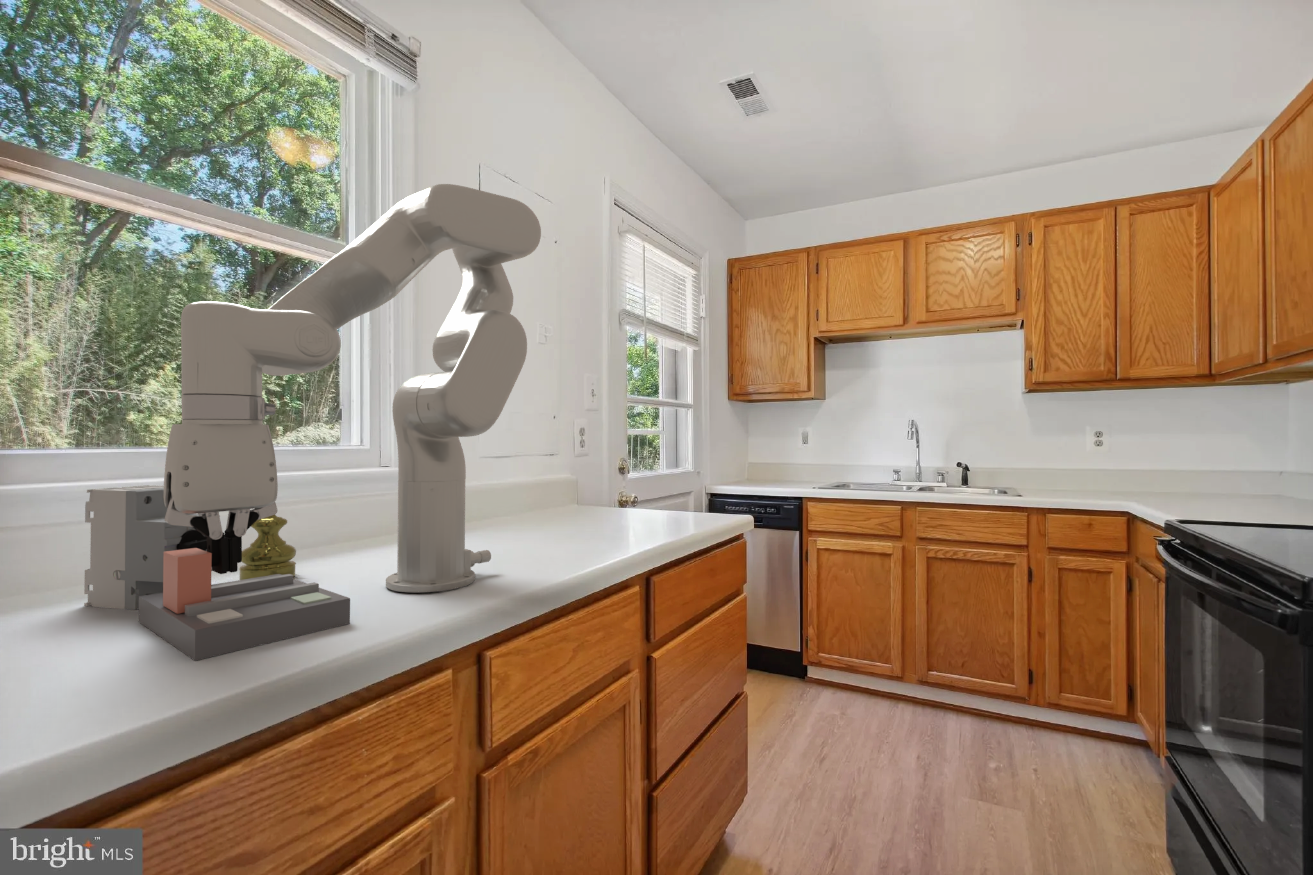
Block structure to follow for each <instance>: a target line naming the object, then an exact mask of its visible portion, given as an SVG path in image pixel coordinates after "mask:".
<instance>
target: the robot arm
mask: <svg viewBox="0 0 1313 875" xmlns="http://www.w3.org/2000/svg"><path fill="white" fill-rule="evenodd" d="M541 237H542V226H541V224H540V221H539V219H538V217H537V215H536V214H535V213H534V211H533V210H532V209H531V208H530V207H529V206H528V205H526V204H525V203H523V202H522V201H520V200H518V199H515V198H511V197H508V196H504V195H500V194H496V193H492V192H489V191H486V190H485V191H483V190H480V189H477V188H471V187H468V186H463V185H458V184H451V183H438V184H435V185H432V186H430V187H428V188H425V189H423V190H420V191H417V192H416V193H413V194H411V195H408V196H407V197H405V198H404V199H403V198H402V200H400V201H398V202H397V203H396V204H394V205H393V206H392V207H391V208H390V209H389V210H387V212H385V213H384V214H383V215H382V216H380V218H378V219H377V220H376V221H375V222H374V223H373V224H371V225H370V226H369V227H368V228H366V230H365V231H364V232H363V233H361V234H360V235H359V236H358V237H356V238H355V239H354V240H353V241H352V242H350V243H349V244H348V245H347V246H345V248H343V249H342V250H341V251H339V252H338V253H337V254H335V255H334V256H332V257H331V258H330V259H329V260H327V261H326V262H325V263H324V264H322V265H321V266H320V267H319V268H318V269H317V270H315V271H314V272H313V273H311V274H309V276H307V277H306V278H305V279H303V280H302V281H301V282H299V283H298V284H296V286H294V287H293V288H292V289H290V290H289V291H288V292H286V293H285V294H284V295H283V296H281V297H280V298H279V299H278V300H277V301H275V302H274V303H273V304H271V306H270V307H268V308H267V309H259V308H252V307H249V306H245V305H241V304H237V303H230V302H221V301H210V300H209V301H204V300H202V301H195V302H190V303H188V304H186V305H185V306H184V307H183V309H182V312H181V317H180V329H181V330H180V334H181V335H180V336H181V338H180V341H181V342H180V343H181V344H180V346H181V348H180V349H181V352H180V353H181V357H180V358H181V423H177V424H175V423H174V424H172V425H171V428H170V433H169V436H168V437H169V438H168V442H167V449H166V455H165V464H164V477H163V479H164V480H163V486H164V489H163V498H164V504H165V506H166V507H167V508H168V509H167V512H166V516H165V520H164V521H165V522H166V523H167V524H170V525H177V526H189V527H193V528H194V529H195V530H197V531H198V532H200V533H201V534H202V535H203V536H205V537H207V552H210V553H212V560H211V567H212V570H213V571H212V572H214V573H217V574H220V575H224V574H227V573H236V572H238V570H239V567H238V564H239V563H242V562H241V561H242V551H243V549H242V548H243V547H242V546H243V545H242V544H243V541H242V540H243V539H242V538H243V536H245V535H246V533H247V531H248V530H249V529H250V528H252V527H251V526H252V525H253V524H254V523H255V522H256V521H257V520H259V519H263V518H266V517H269V516H272V515H277V513H278V507H277V503H276V501H277V498H278V491H279V490H278V487H279V486H278V471H277V470H278V469H277V461H276V460H277V459H276V453H275V448H274V443H273V438H272V433H271V430H270V426H269V424H263V421H265V416H266V417H267V416H269V415H270V416H272V415H273V416H274V415H275V414H276V410H277V409H276V405H275V404H274V403H268V402H265V398H264V397H263V374H264V375H265V374H266V375H267V376H273V377H282V376H290V375H298V374H299V375H300V374H309V373H313V372H317V371H321V370H324V369H325V368H327V367H328V366H329V365H331V364H332V363H333V362H334V361H336V359H337V358H338V356H339V354H340V351H341V346H342V345H341V344H342V342H341V337H340V334H339V332H338V329H340V328H342V327H343V326H344V325H346V324H348V323H350V321H352V320H354V319H357V318H358V317H360V316H363V315H364V314H367V313H369V312H371V311H373V310H375V309H377V308H379V307H381V306H383V305H385V304H386V303H388V302H389V301H390V300H392V299H393V298H395V297H396V296H397V295H399V293H400V292H402V291H403V289H404V288H405V287H406V286H407V285H409V283H410V282H411V281H413V279H414V278H415V277H417V275H419V273H421V271H422V270H424V268H426V267H427V265H429V263H431V262H432V261H433V260H434V259H435V258H436V257H437V256H438V255H439V254H441V253H442V252H445V251H448V250H451V249H452V253H453V256H454V258H455V260H456V262H457V265H458V268H459V271H460V273H461V280H462V281H461V288H460V289H459V290H460V291H459V293H458V294H457V297H456V300H455V301H454V303H453V304H452V307H451V308H450V309H449V311H448V313H447V316H446V317H445V320H444V321H443V322H442V324H441V326H440V328H439V330H438V332H437V334H436V336H435V338H434V341H433V343H432V357H433V360H434V363H435V364H436V365H437V367H438V368H439V369H440V370H441V371H440V372H430V373H422V374H418V375H415V376H412V377H411V378H408V379H407V380H405V381H403V383H402V384H401V385H400V386H399V387H398V389H397V390H396V392H395V394H394V397H393V401H392V419H393V426H394V430H395V436H396V437H395V438H396V444H397V458H398V459H397V460H398V461H397V462H398V468H397V469H398V470H397V471H398V472H397V473H398V475H397V479H398V481H397V483H398V484H397V560H396V562H397V564H396V565H397V568H396V570H397V572H394V573H392V574H390V575H388V576H387V577H386V578H385V587H386V588H387V589H389V590H392V591H393V592H400V593H415V594H417V593H418V594H419V593H423V594H424V593H435V592H437V593H438V592H445V591H452V590H455V589H459V588H463V587H466V586H468V585H470V584H472V583H473V582H475V580H476V573H475V571H474V570H472V567H474V566H475V564H482V563H483V564H484V563H487V562H488V563H489V562H490V561H491V559H492V553H491V552H490V550H488V549H484V550H478V551H476V552H474V551H472V550H471V549H467V548H466V478H467V476H466V475H467V474H466V473H467V472H466V468H467V467H466V459H465V458H466V457H465V454H464V450H463V446H462V443H461V441H460V438H463V437H464V438H466V437H467V438H470V437H475V436H479V435H482V434H484V433H486V432H487V431H488V430H490V429H491V428H492V427H493V426H494V424H495V423H496V422H497V420H498V419H499V417H500V415H501V414H502V412H503V410H504V408H505V405H506V404H507V401H508V399H509V397H510V396H511V393H512V391H513V389H514V386H515V384H516V382H517V380H518V378H519V375H520V373H521V372H522V368H523V366H524V365H525V362H526V359H527V358H526V357H527V353H528V340H527V335H526V334H527V333H526V331H525V328H524V325H522V323H521V321H519V319H518V318H517V317H515V316H514V315H513V314H511V312H512V309H513V305H514V294H513V289H512V287H511V285H510V282H509V279H508V276H507V274H506V272H505V269H504V267H503V263H508V262H512V261H515V260H519V259H523V258H525V257H527V256H529V255H531V254H532V253H533V252H535V251H536V250H537V248H538V247H539V245H540V242H541ZM170 491H171V492H170ZM220 512H228V514H227V515H228V516H227V520H226V527H225V530H224V532H223V526H222V523H221V515H220ZM185 513H189V514H198V516H195V515H186V514H185ZM219 515H220V516H219Z"/></svg>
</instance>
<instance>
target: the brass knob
mask: <svg viewBox="0 0 1313 875" xmlns="http://www.w3.org/2000/svg"><path fill="white" fill-rule="evenodd" d="M287 524H288V520H287V519H286V518H283V517H282V516H277V514H275V515H272V516H269V517H266V518H263V519H259V520H257V521H256V522H255V523H254V524H253V525H252V526H251V527H250V528H252V529H253V530H255V531H256V533H257V537H256V538H255V540H254V541H252V542H251V543H250V544H249V546H248V547H246V548H244V549H242V561H241V562H240V563H242V564H243V565H240V566H239V567H238V570H239V577H238V578H239V579H238V580H244V579H250V578H257V577H263V576H269V575H275V574H281V575H286V574H291V575H293V578H294V577H295V576H296V564H297V563H296V561H294V560H292V559H293V558H295V556H296V553H297V549H296V547H294V546H293V545H291V544H288V543H287V541H286V540H284V539H283V538H282V537H281V536H280V535H279V534H280V530H282V528H283V527H285V525H287Z"/></svg>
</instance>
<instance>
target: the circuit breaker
mask: <svg viewBox="0 0 1313 875" xmlns="http://www.w3.org/2000/svg"><path fill="white" fill-rule="evenodd" d="M163 489H164V485H155V484H153V485H149V484H146V485H132V486H131V485H130V486H121V487H106V488H105V487H103V488H92V489H90V488H89V489H86V493H88V494H89V500H88V501H85V505H84V506H85V507H84V508H85V511H84V514H85V516H84V522H85V523H90V550H89V551H90V554H89V555H90V557H89V558H90V559H89V560H90V561H89V562H90V565H89V566H90V568H88V569H85V570H84V584H83V585H84V588H83V590H84V595H87V602H84V605H83V606H84V607H89V606H92V608H102V609H103V608H104V609H105V608H106V609H116V610H131V611H136V610H139V596H144V595H150V594H156V593H163V556H164V552H165V551H174V550H183V549H191V548H198V549H201V550H204V551H207V537H205V536H203V535H202V534H201V533H200V532H198V531H197V530H195V529H194V528H193V527H189V526H177V525H170V524H167V523H166V522H165V521H164V520H165V516H166V512H167V509H168V508H167V507H166V506H165V504H164V498H163ZM170 492H171V491H170ZM91 512H93V517H91ZM185 514H186V515H195V516H198V513H196V514H189V513H185ZM219 516H220V517H221V515H220V514H219ZM211 572H214V571H213V570H212V567H211ZM90 585H91V586H92V590H91V589H90Z"/></svg>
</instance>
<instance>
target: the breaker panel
mask: <svg viewBox="0 0 1313 875" xmlns="http://www.w3.org/2000/svg"><path fill="white" fill-rule="evenodd" d="M138 623H140V624H141V625H142V626H144V627H146V628H147V629H148V630H150V631H151V632H153V633H154V634H156V635H157V636H158V637H160V638H161V639H163V640H164V641H166V642H167V643H168V644H170V645H171V646H173V647H175V648H176V649H177V650H179V651H180V652H182V653H183V654H185V655H186V656H187V657H188V658H190V659H192V660H193V661H200V660H204V659H207V658H212V657H216V656H220V655H224V654H225V655H226V654H229V653H233V652H237V651H241V650H246V649H249V648H254V647H258V646H262V645H266V644H267V645H268V644H270V643H275V642H278V641H283V640H288V639H293V638H296V637H300V636H304V635H307V634H312V633H316V632H320V631H324V630H329V629H332V628H333V629H334V628H336V627H341V626H346V625H349V624H350V623H351V598H350V597H348V596H345V595H342V594H339V593H336V592H334V591H331V590H328V589H324V588H322V587H320V585H319V583H318V582H309V583H307V582H304V581H301V580H298V579H296V578H294V577H293V575H291V574H286V575H281V574H275V575H269V576H263V577H257V578H250V579H244V580H239V579H237V580H232V581H227V582H225V581H224V582H220V583H214V584H211V601H206V602H200V603H194V604H189V605H185V613H179V614H176V613H175V612H173V611H171V610H170V609H168V608H166V607H164V606H163V593H156V594H150V595H144V596H139V609H138Z"/></svg>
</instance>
